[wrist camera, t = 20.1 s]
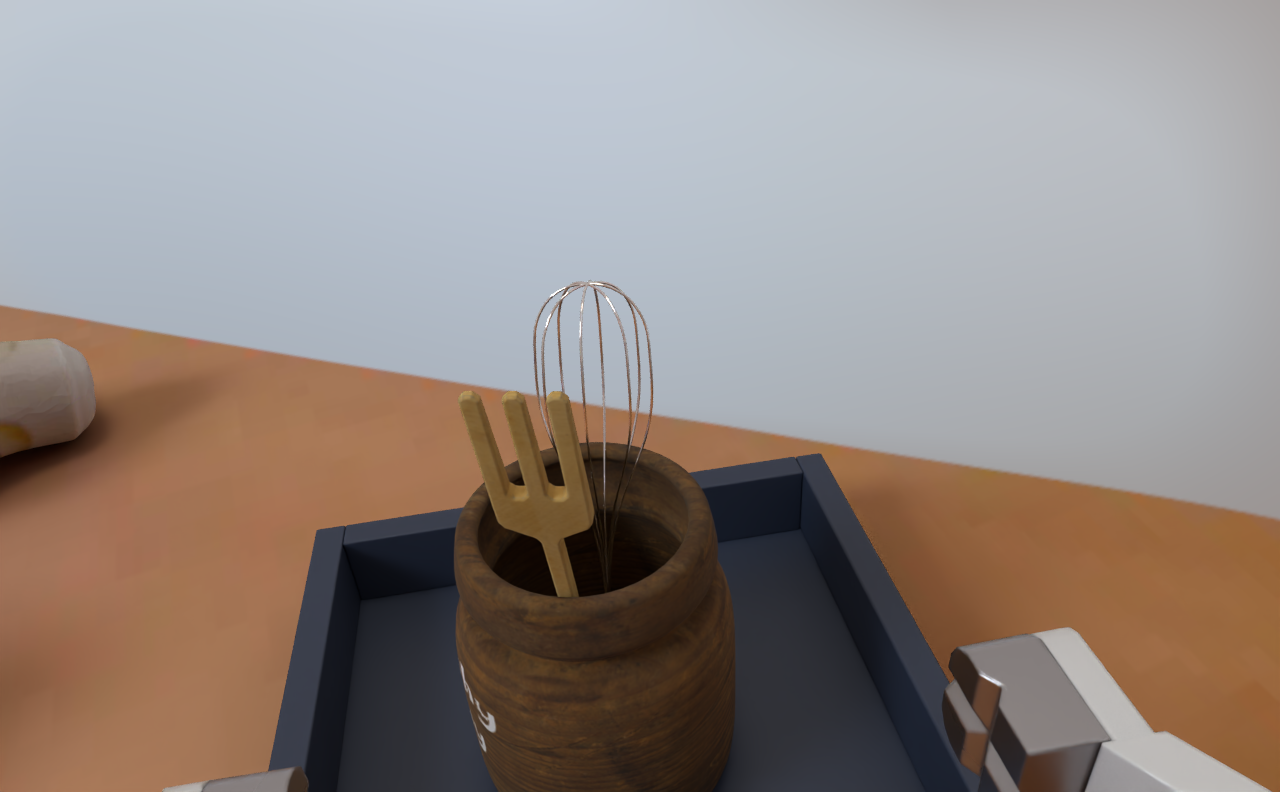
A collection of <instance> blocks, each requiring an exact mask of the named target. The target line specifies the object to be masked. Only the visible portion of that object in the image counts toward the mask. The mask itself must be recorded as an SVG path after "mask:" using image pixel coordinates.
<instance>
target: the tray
mask: <svg viewBox="0 0 1280 792" xmlns="http://www.w3.org/2000/svg"><path fill="white" fill-rule="evenodd" d="M689 474H690V475H691V476H692V477H693V478H694V479H695V480H696V481H697V483H698V484H699V485H700V487H701V489H702V490H703V492H704V494H705V496H706V498H707V501H708V504H709V507H710V510H711V514H712V517H713V521H714V525H715V529H716V534H717V542H718V561H719V563H720V565H721V567H722V569H723V571H724V574H725V576H726V580H727V583H728V586H729V590H730V594H731V599H732V604H733V613H734V625H735V721H734V731H733V738H732V743H731V748H730V753H729V757H728V760H727V763H726V766H725V768H724V771H723V773H722V775H721V777H720V779H719V781H718V783H717V785H716V786H715V788H714V789H713V791H712V792H977V791H978V786H979V780H980V777H979V776H978V775H976V774H975V773H974V772H972V771H971V770H969V769H968V768H966V767H965V766H963V765H962V764H960V762H959V760H958V758H957V756H956V754H955V752H954V750H953V748H952V746H951V744H950V741H949V739H948V736H947V733H946V730H945V726H944V720H943V713H942V701H943V694H944V689H945V688H946V687H947V686H948V685H949V684H950V683H949V681H948V679H947V678H946V676H945V674H944V672H943V670H942V669H941V667H940V665H939V663H938V661H937V660H936V658H935V656H934V654H933V653H932V651H931V649H930V647H929V645H928V644H927V642H926V640H925V638H924V637H923V635H922V633H921V631H920V629H919V628H918V626H917V624H916V622H915V621H914V619H913V617H912V615H911V613H910V612H909V610H908V608H907V606H906V605H905V603H904V601H903V599H902V597H901V596H900V594H899V592H898V590H897V588H896V587H895V585H894V583H893V581H892V580H891V578H890V576H889V574H888V572H887V571H886V569H885V567H884V565H883V564H882V562H881V560H880V558H879V556H878V555H877V553H876V551H875V549H874V548H873V546H872V544H871V542H870V540H869V539H868V537H867V535H866V533H865V532H864V530H863V528H862V526H861V524H860V523H859V521H858V519H857V517H856V515H855V514H854V512H853V510H852V508H851V507H850V505H849V503H848V501H847V499H846V498H845V496H844V494H843V492H842V491H841V489H840V487H839V485H838V483H837V482H836V480H835V478H834V476H833V475H832V473H831V471H830V469H829V467H828V466H827V464H826V462H825V460H824V459H823V457H822V455H821V454H819V453H818V454H811V455H805V456H798V457H796V459H795V457H789V458H782V459H776V460H769V461H763V462H756V463H750V464H743V465H737V466H730V467H724V468H717V469H711V470H704V471H698V472H691V473H689ZM462 510H463V508H457V509H451V510H444V511H438V512H431V513H425V514H418V515H412V516H405V517H399V518H392V519H386V520H379V521H373V522H366V523H360V524H353V525H347V526H346V527H345V526H339V527H333V528H326V529H320V530H317V532H316V537H315V542H314V547H313V552H312V557H311V561H310V566H309V571H308V576H307V581H306V586H305V591H304V596H303V601H302V606H301V611H300V616H299V621H298V626H297V631H296V636H295V641H294V646H293V651H292V656H291V661H290V666H289V671H288V676H287V680H286V685H285V690H284V695H283V700H282V705H281V710H280V715H279V720H278V725H277V730H276V735H275V740H274V745H273V750H272V755H271V760H270V765H269V770H268V771H273V770H279V769H285V768H292V767H298V766H301V768H302V769H303V771H304V773H305V775H306V777H307V779H308V781H309V787H308V792H498V790H497V788H496V787H495V785H494V783H493V781H492V779H491V777H490V774H489V772H488V770H487V767H486V764H485V762H484V758H483V755H482V752H481V749H480V745H479V742H478V738H477V735H476V731H475V727H474V724H473V720H472V716H471V712H470V708H469V704H468V700H467V696H466V692H465V688H464V684H463V680H462V675H461V670H460V665H459V660H458V654H457V647H456V634H455V633H456V612H457V606H458V602H459V598H460V595H459V592H458V589H457V585H456V580H455V571H454V544H455V532H456V526H457V523H458V520H459V517H460V514H461V512H462Z"/></svg>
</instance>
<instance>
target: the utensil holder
mask: <svg viewBox="0 0 1280 792" xmlns="http://www.w3.org/2000/svg"><path fill="white" fill-rule="evenodd" d="M604 284H607V285H604ZM595 285H597V286H603V287H606V288H610V289H612V290H614V291H616V292H618V293H620V294H622V295H623V296H624V297H625V299H626V300H627V302H628V304H629V306H630V308H631V311H632V314H633V318H634V324H635V332H636V344H637V357H638V400H637V408H636V415H635V421H634V426H633V430H632V435H631V425H632V407H631V389H630V373H629V360H628V351H627V343H626V338H625V334H624V330H623V327H622V324H621V321H620V319H619V316H618V314H617V312H616V310H615V308H614V306H613V304H612V303H611V301H610V300H609V298H608V297H607V296H606V295H605V294H604V293H603V292H602V291H601V290H600V289H599V288H597V287H596V286H595ZM608 285H610V286H608ZM574 286H577V287H575V288H573V289H571V290H570V291H568V292H567V290H568V289H569V288H570V287H574ZM583 286H585V288H584V291H583V295H582V302H581V312H580V362H581V377H582V393H583V408H584V421H585V432H586V442H587V443H579V440H578V436H577V431H576V427H575V423H574V418H573V414H572V409H571V405H570V400H569V397H568V396H567V395H566V394H565V390H564V382H563V373H562V360H561V344H560V309H561V304H562V301H563V299H564V298H565V297H566V296H567V295H568V294H569V293H571V292H572V291H574V290H576V289H578V288H580V287H583ZM587 286H591V287H593V288H594V292H595V296H596V303H597V311H598V323H599V336H600V352H601V366H602V367H601V368H602V387H603V442H590V443H589V438H588V428H587V417H586V403H585V388H584V372H583V354H582V320H583V305H584V298H585V293H586V289H587ZM611 286H612V287H611ZM613 287H614V288H613ZM564 289H565V291H564V293H563V294H562V297H561V299H560V300H559V301H558V302H557V303H556V305H555V306H554V308H553V310H552V311H551V313H550V315H549V317H548V320H547V323H546V325H545V329H544V333H543V338H542V375H543V392H544V403H545V412H546V418H547V424H548V427H547V424H546V421H545V419H544V415H543V411H542V407H541V402H540V396H539V388H538V378H537V362H536V328H537V323H538V320H539V317H540V314H541V312H542V310H543V308H544V307H545V305H546V304H547V303H548V302H549V300H550V299H551V298H552V297H553V296H555V295H556V294H557V293H559V292H561V291H562V290H564ZM596 290H598V291H599V292H600V293H601V294H602V295H603V296H604V297H605V298H606V300H607V301H608V302H609V304H610V306H611V307H612V309H613V311H614V313H615V315H616V318H617V320H618V323H619V325H620V329H621V332H622V336H623V340H624V346H625V354H626V365H627V378H628V393H629V436H628V445H625V444H618V443H605V385H604V367H603V351H602V336H601V322H600V310H599V303H598V296H597V291H596ZM566 292H567V293H566ZM630 302H631V303H630ZM631 304H632V305H633V306H634V307H635V308H636V310H637V312H638V313H639V315H640V317H641V319H642V321H643V324H644V326H645V330H646V335H647V342H648V351H649V363H650V379H651V404H650V414H649V420H648V425H647V430H646V433H645V437H644V440H643V443H642V446H641V448H639V447H635V446H631V444H632V440H633V436H634V431H635V427H636V421H637V416H638V408H639V401H640V380H641V379H640V356H639V342H638V331H637V323H636V317H635V313H634V310H633V307H632V305H631ZM558 305H559V308H558V319H557V323H558V346H559V361H560V374H561V383H562V391H563V392H560V391H553V392H551V393H550V394H549V395H548V396H547V399H546V388H545V369H544V341H545V335H546V330H547V327H548V324H549V322H550V319H551V317H552V315H553V313H554V311H555V309H556V308H557V306H558ZM533 343H534V344H533V346H534V364H535V381H536V390H537V397H538V403H539V408H540V412H541V416H542V419H543V422H544V425H545V428H546V431H547V433H548V436H549V438H550V441H551V443H552V445H553V447H554V448H550V449H546V450H543V451H540V450H539V447H538V443H537V440H536V436H535V433H534V429H533V426H532V422H531V419H530V415H529V412H528V408H527V405H526V401H525V398H524V396H523V395H522V394H520V393H519V392H517V391H508V392H506V394H505V395H504V396H503V397H502V404H503V408H504V411H505V415H506V418H507V422H508V426H509V429H510V433H511V436H512V440H513V444H514V447H515V451H516V454H517V458H518V460H517V461H515V462H513V463H511V464H510V465H508V466H506V467H504V464H503V461H502V459H501V456H500V453H499V450H498V447H497V444H496V441H495V438H494V435H493V432H492V429H491V426H490V423H489V421H488V418H487V415H486V412H485V409H484V406H483V403H482V400H481V397H480V396H479V395H478V394H476V393H475V392H473V391H464V392H462V394H461V395H460V396H459V398H458V403H459V406H460V409H461V412H462V415H463V418H464V421H465V425H466V428H467V431H468V434H469V437H470V440H471V443H472V446H473V449H474V452H475V455H476V458H477V461H478V464H479V467H480V470H481V473H482V476H483V479H484V483H483V484H482V485H481V486H480V487H479V488H478V489H477V490H476V491H475V492H474V494H473V495H472V496H471V497H470V499H469V500H468V502H467V503H466V505H465V506H464V508H463V510H462V512H461V514H460V517H459V520H458V523H457V526H456V532H455V544H454V571H455V580H456V585H457V589H458V592H459V595H460V598H459V602H458V606H457V612H456V633H455V634H456V647H457V654H458V660H459V665H460V670H461V675H462V680H463V684H464V688H465V692H466V696H467V700H468V704H469V708H470V712H471V716H472V720H473V724H474V727H475V731H476V735H477V738H478V742H479V745H480V749H481V752H482V755H483V758H484V762H485V764H486V767H487V770H488V772H489V774H490V777H491V779H492V781H493V783H494V785H495V787H496V788H497V790H498V792H712V791H713V789H714V788H715V786H716V785H717V783H718V781H719V779H720V777H721V775H722V773H723V771H724V768H725V766H726V763H727V760H728V757H729V753H730V748H731V743H732V738H733V731H734V721H735V625H734V613H733V604H732V599H731V594H730V590H729V586H728V583H727V580H726V576H725V574H724V571H723V569H722V567H721V565H720V563H719V561H718V542H717V534H716V529H715V525H714V521H713V517H712V514H711V510H710V507H709V504H708V501H707V498H706V496H705V494H704V492H703V490H702V489H701V487H700V485H699V484H698V483H697V481H696V480H695V479H694V478H693V477H692V476H691V475H690V474H689V473H688V472H687V471H686V470H685V469H683V468H682V467H681V466H680V465H678V464H677V463H675V462H673V461H672V460H670V459H668V458H666V457H664V456H662V455H660V454H658V453H655V452H652V451H650V450H646V449H643V447H644V444H645V441H646V438H647V434H648V431H649V426H650V422H651V416H652V408H653V374H652V361H651V349H650V340H649V334H648V329H647V325H646V323H645V320H644V318H643V316H642V314H641V312H640V311H639V309H638V308H637V306H636V305H635V303H634V302H633V301H632V300H631V299H630V298H629V297H628V296H626V295H625V294H624V293H623V291H622V290H621V289H619V288H618V287H617V286H615V285H613V284H611V283H608V282H603V281H594V282H593V281H591V280H589V281H588V282H582V281H580V282H574V283H572V284H570V285H569V286H566V287H563V288H561V289H560V290H558V291H556V292H555V293H553V294H552V295H551V296H550V297H549V298H548V299H547V300H546V302H545V303H544V304H543V306H542V307H541V309H540V311H539V313H538V316H537V319H536V322H535V326H534V340H533ZM547 408H548V410H547ZM548 412H549V416H548ZM549 417H550V421H551V425H552V430H553V434H554V438H553V435H552V431H551V427H550V422H549ZM548 428H549V430H548ZM554 439H555V441H554ZM555 443H556V444H555Z"/></svg>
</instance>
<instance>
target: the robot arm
mask: <svg viewBox="0 0 1280 792" xmlns="http://www.w3.org/2000/svg"><path fill="white" fill-rule="evenodd" d="M949 669H950V670H951V672H952V674H953V676H954V678H955V679H954V680H953V681H952V682H951V683H950V684H949V685H948V686H947V687H946V688H945V689H944V694H943V701H942V713H943V720H944V726H945V730H946V733H947V736H948V739H949V741H950V744H951V746H952V748H953V750H954V752H955V754H956V756H957V758H958V760H959V762H960V764H962V765H963V766H965V767H966V768H968V769H969V770H971V771H972V772H974V773H975V774H976V775H978V776H979V777H980V780H979V786H978V791H977V792H1272V791H1270V790H1268V789H1267V788H1265V787H1263V786H1261V785H1260V784H1258V783H1256V782H1254V781H1253V780H1251V779H1249V778H1247V777H1246V776H1244V775H1242V774H1240V773H1239V772H1237V771H1235V770H1233V769H1232V768H1230V767H1228V766H1226V765H1225V764H1223V763H1221V762H1219V761H1218V760H1216V759H1214V758H1212V757H1211V756H1209V755H1207V754H1205V753H1204V752H1202V751H1200V750H1198V749H1197V748H1195V747H1193V746H1191V745H1190V744H1188V743H1186V742H1184V741H1183V740H1181V739H1179V738H1177V737H1176V736H1174V735H1172V734H1170V733H1169V732H1167V731H1162V732H1155V733H1154V731H1153V730H1152V729H1151V727H1150V726H1149V725H1148V723H1147V722H1146V721H1145V719H1144V718H1143V717H1142V715H1141V714H1140V713H1139V712H1138V710H1137V709H1136V708H1135V706H1134V705H1133V704H1132V702H1131V701H1130V700H1129V698H1128V697H1127V696H1126V695H1125V693H1124V692H1123V691H1122V689H1121V688H1120V687H1119V685H1118V684H1117V683H1116V681H1115V680H1114V679H1113V678H1112V676H1111V675H1110V674H1109V672H1108V671H1107V670H1106V668H1105V667H1104V666H1103V664H1102V663H1101V662H1100V660H1099V659H1098V658H1097V657H1096V655H1095V654H1094V653H1093V651H1092V650H1091V649H1090V647H1089V646H1088V645H1087V643H1086V642H1085V641H1084V640H1083V638H1082V637H1081V636H1080V634H1079V633H1078V632H1076V631H1075V630H1073V629H1071V628H1070V627H1068V628H1059V629H1054V630H1049V631H1044V632H1039V633H1034V634H1030V635H1029V634H1022V635H1017V636H1012V637H1006V638H1001V639H996V640H991V641H986V642H981V643H976V644H971V645H966V646H960V647H957V648H956V649H955V650H954V651H953V652H952V653H951V657H950V662H949ZM308 787H309V781H308V779H307V777H306V775H305V773H304V771H303V769H302V768H301V766H298V767H292V768H285V769H279V770H273V771H266V772H260V773H254V774H248V775H241V776H235V777H229V778H222V779H216V780H208V781H202V782H197V783H191V784H185V785H180V786H174V787H168V788H164V789H163V791H162V792H308Z"/></svg>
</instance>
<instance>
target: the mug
mask: <svg viewBox="0 0 1280 792" xmlns="http://www.w3.org/2000/svg"><path fill="white" fill-rule="evenodd" d="M95 408H96V399H95V394H94V383H93V377H92V374H91V371H90V368H89V365H88V363H87V361H86V359H85V358H84V356H83V355H82V354H81V353H80V352H79V351H78V350H76V349H74V348H72V347H70V346H68V345H66V344H64V343H63V342H61V341H59V340H58V339H38V340H27V341H10V342H0V458H1V457H3V456H6V455H9V454H12V453H15V452H19V451H22V450H26V449H31V448H35V447H41V446H45V445H50V444H56V443H61V442H65V441H71V440H74V439H76V438H77V437H78V436H79V435H80V434H81V433H82V432H83V431H84V430H85V429H86V428H87V427H88V426H89V425H90V423H91V421H92V420H93V418H94V415H95Z"/></svg>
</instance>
